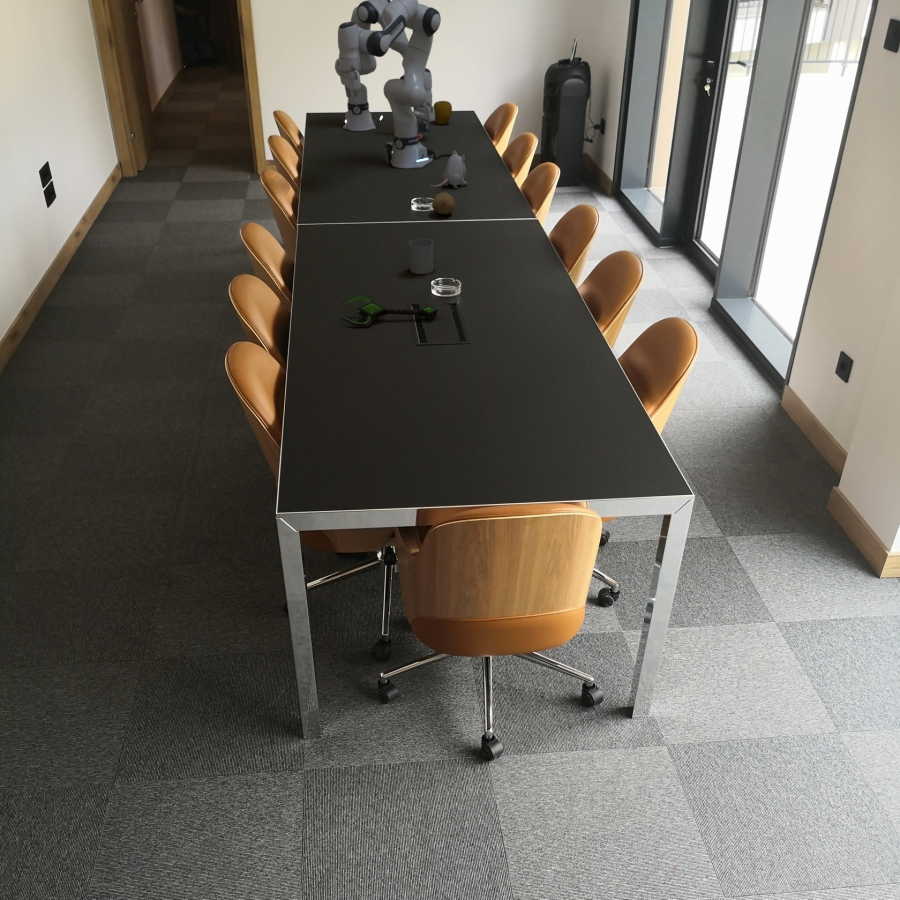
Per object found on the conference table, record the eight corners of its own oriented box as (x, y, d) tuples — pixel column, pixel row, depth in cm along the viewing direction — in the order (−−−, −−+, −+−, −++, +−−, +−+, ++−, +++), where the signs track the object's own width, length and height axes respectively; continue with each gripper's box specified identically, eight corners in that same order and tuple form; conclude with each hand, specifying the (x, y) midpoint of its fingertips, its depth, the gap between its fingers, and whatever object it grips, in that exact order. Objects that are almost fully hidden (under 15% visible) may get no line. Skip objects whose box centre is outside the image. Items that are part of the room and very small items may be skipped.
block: (422, 132, 470) (421, 123, 468) (418, 131, 473) (418, 122, 471) (430, 131, 472) (429, 123, 469) (426, 130, 475) (426, 121, 473)
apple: (451, 126, 500) (451, 102, 493) (433, 126, 500) (432, 102, 493) (452, 121, 509) (452, 98, 502) (433, 121, 509) (433, 98, 502)
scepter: (438, 291, 273) (342, 288, 271) (439, 321, 266) (340, 319, 264) (437, 304, 278) (343, 302, 276) (438, 334, 271) (341, 332, 269)
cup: (409, 265, 311) (408, 238, 306) (432, 265, 312) (431, 238, 307) (410, 274, 304) (409, 246, 299) (433, 273, 305) (433, 246, 299)
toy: (472, 184, 399) (472, 151, 391) (436, 195, 384) (436, 161, 376) (457, 180, 404) (458, 147, 396) (422, 191, 389) (421, 157, 381)
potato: (453, 208, 369) (453, 189, 365) (456, 218, 357) (456, 199, 353) (431, 208, 368) (430, 189, 364) (432, 218, 356) (432, 199, 352)
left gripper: (437, 103, 458) (438, 130, 465) (421, 96, 473) (422, 123, 480) (426, 104, 455) (427, 132, 463) (410, 97, 471) (411, 124, 478)
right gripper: (363, 68, 363) (365, 103, 370) (350, 60, 379) (352, 94, 386) (348, 68, 361) (350, 104, 368) (336, 61, 377) (338, 95, 385)
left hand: (424, 127), depth 472 cm, fingers closed on block, 4 cm apart
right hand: (351, 99), depth 378 cm, fingers open, 8 cm apart
